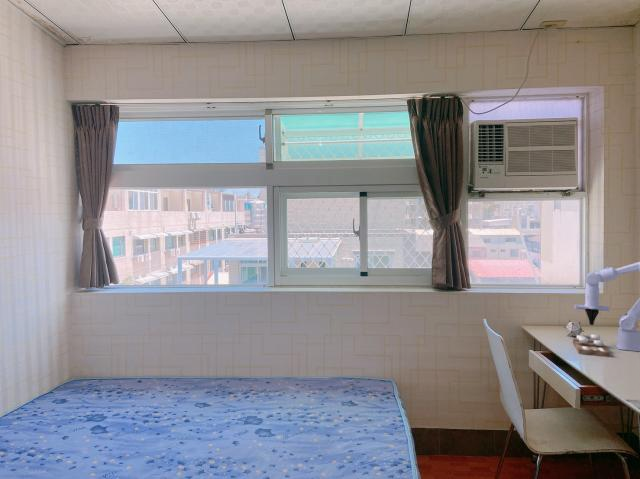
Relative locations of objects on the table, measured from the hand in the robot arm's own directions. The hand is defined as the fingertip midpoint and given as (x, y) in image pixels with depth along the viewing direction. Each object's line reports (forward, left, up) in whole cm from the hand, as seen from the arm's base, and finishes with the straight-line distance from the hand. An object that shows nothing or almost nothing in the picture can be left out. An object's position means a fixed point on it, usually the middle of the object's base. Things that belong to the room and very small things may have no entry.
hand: (591, 324), depth 215 cm
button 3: (-1, +11, -7) cm, 13 cm away
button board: (+2, +11, -9) cm, 15 cm away
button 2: (-1, +5, -6) cm, 7 cm away
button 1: (+5, +12, -6) cm, 14 cm away
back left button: (+5, +5, -7) cm, 10 cm away
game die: (+6, -11, -10) cm, 16 cm away
